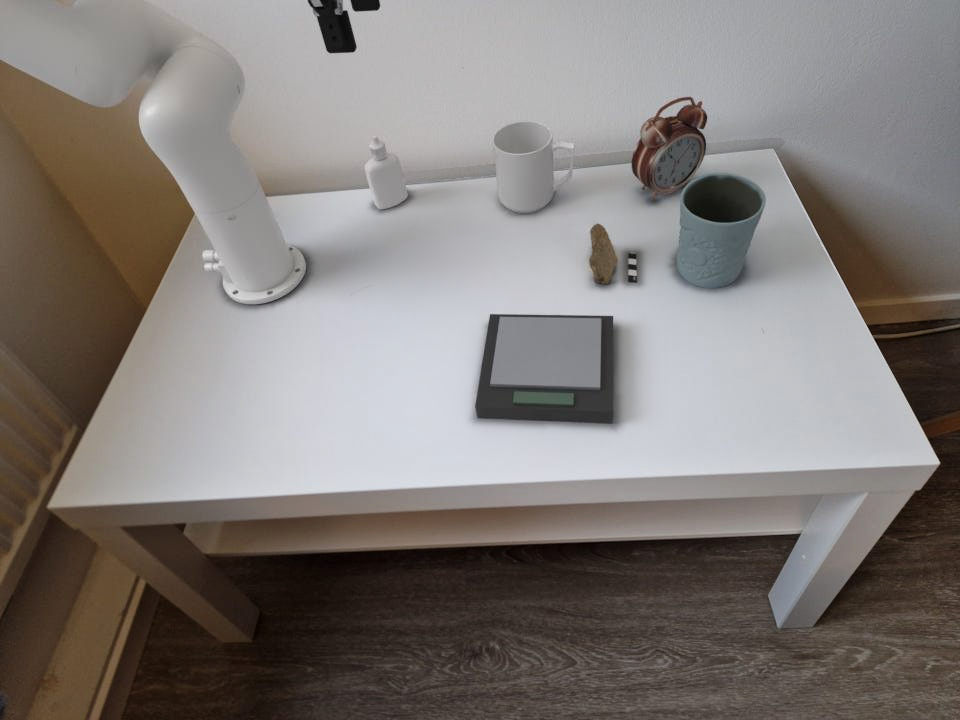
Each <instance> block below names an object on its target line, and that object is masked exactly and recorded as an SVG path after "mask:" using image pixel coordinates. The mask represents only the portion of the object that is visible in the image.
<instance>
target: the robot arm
mask: <svg viewBox="0 0 960 720" xmlns="http://www.w3.org/2000/svg"><path fill="white" fill-rule="evenodd" d="M349 1H350V4H351V8H352V10H353V11H354V12H356V13H357V12H358V13H359V12H376V11H379V10H380V8H381V2H380V0H349ZM307 3H308V5H309V6H310V7H311V9H312V13H313V15H314V17H316V19H317V22H318V23H317V24H318V26H319V30H320V33H321V36H322V40H323V43H324V46H325V51H326V52H327V53H328V54H348V53H351V54H352V53H355V52H356V51H357V42H356V38H355V35H354V31H353V27H352V22H351V20H350V15H349V12H348V10H345V9H344V0H307ZM0 61H1V62H4V63H6V64H7V65H9V66H11V67H13V68H15V69H17V70H19V71H21V72H23V73H25V74H27V75H29V76H31V77H33V78H35V79H37V80H39V81H41V82H43V83H45V84H47V85H49V86H51V87H53V88H55V89H56V90H59V91H61V92H62V93H64V94H67V95H69V96H71V97H72V98H75V99H76V100H79V101H81V102H83V103H85V104H89V105H91V106H94V107H98V108H105V109H106V108H112V107H116V106H117V105H119V104H121V103H122V102H123V101H125V99H126V98H127V97H128V96H129V95H130V94H131V92H132V91H133V90H134V89H135V88H136V86H137V84H138V83H139V81H140V80H141V79H142V77H145V78H146V79H149V80H151V83H150V84H149V85H148V87H147V88H146V91H145V92H144V94H143V95H142V99H141V102H140V105H139V110H138V125H139V129H140V132H141V135H142V137H143V139H144V140H145V142H146V144H147V145H148V147H149V148H150V149H151V151H152V152H153V153H154V154H155V155H156V156H157V157H158V159H159V161H161V162H162V163H163V165H164V166H165V167H166V169H167V170H168V171H169V172H170V174H171V175H172V177H173V178H174V180H175V182H176V183H177V185H178V187H179V189H180V190H181V191H182V193H183V195H184V197H185V198H186V201H187V202H188V204H189V206H190V207H191V209H192V211H193V213H194V214H195V217H196V218H197V220H198V222H199V223H200V225H201V227H202V229H203V231H204V233H205V234H206V237H207V238H208V240H209V242H210V243H211V245H212V247H213V249H204V250H203V251H202V260H203V262H204V265H203V269H204V271H205V273H217V272H218V273H219V274H221V275H222V286H223V289H224V291H225V292H226V294H227V295H228V297H229V298H230V299H231V300H233V301H235V302H237V303H240V304H244V305H262V304H266V303H271V302H273V301H275V300H278V299H280V298H282V297H284V296H286V295H288V294H289V293H290V292H292V291H293V290H294V289H295V288H297V286H298V285H299V284H300V282H301V281H302V280H303V278H304V276H305V274H306V270H307V262H306V260H305V257H304V255H303V253H302V251H301V250H300V249H298V248H297V247H295V246H294V245H292V244H288V243H287V242H286V239H285V238H284V235H283V232H282V230H281V228H280V226H279V224H278V221H277V219H276V217H275V214H274V212H273V210H272V207H271V205H270V203H269V200H268V198H267V196H266V194H265V192H264V189H263V187H262V185H261V183H260V180H259V178H258V176H257V173H256V171H255V168H254V167H253V165H252V163H251V161H250V159H249V158H248V157H247V155H246V154H245V153H244V151H242V150H241V148H240V147H239V146H238V145H237V144H236V143H235V142H234V140H233V138H232V136H231V130H230V127H231V125H232V123H233V120H234V117H235V115H236V113H237V111H238V108H239V107H240V104H241V103H242V100H243V97H244V94H245V89H246V79H245V75H244V72H243V69H242V67H241V65H240V63H239V62H238V60H237V59H236V58H235V57H234V55H232V53H230V52H229V51H228V50H227V49H226V48H224V47H223V46H222V45H221V44H219V42H217V41H215V40H213V39H212V38H210V37H208V35H207V36H206V35H205V34H203V33H201V32H200V31H198V30H197V29H195V28H193V27H192V26H190V25H188V24H187V23H185V22H183V21H181V20H180V19H178V18H176V17H175V16H173V15H172V14H170V13H168V12H166V11H164V10H163V9H161V8H159V7H158V6H156V5H154V4H153V3H151V2H149V1H147V0H76V1H75V2H74V3H73V4H72V5H71V6H70V5H65V4H63V3H60V2H59V1H56V0H0Z"/></svg>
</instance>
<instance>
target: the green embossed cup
mask: <svg viewBox="0 0 960 720" xmlns="http://www.w3.org/2000/svg"><path fill="white" fill-rule="evenodd" d="M687 183H688V184H687V185H686V186H685V185H684V188H682V191H681V193H680V200H679V201H680V204H679V226H680V229H679V233H678V234H679V235H678V245H677V251H676V269H677V271H678V274H679V275H680V276H681V278H683V280H685V281H686V282H687V283H689V284H691V285H694V286H696V287H700V288H704V289H718V288H724V287H726V286H729V285H730V284H732V283H734V282H735V281H736V280H737V279H738V278H739V276H740V274H741V272H742V269H743V267H744V264H745V261H746V258H747V254H748V251H749V248H750V246H751V242H752V240H753V237H754V234H755V231H756V229H757V227H758V225H759V223H760V220H761V217H762V215H763V213H764V210H765V207H766V202H767V199H766V193H765V191H764V190H763V188H762V187H761V186H760V185H759V184H757V183H756V182H755V181H753V180H752V179H751V178H748V177H745V176H743V175H739V174H736V173H728V172H714V173H707V174H704V175H700V176H698V177H696V178H693V179H691V180H690V181H689V182H687Z"/></svg>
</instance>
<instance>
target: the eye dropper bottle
mask: <svg viewBox="0 0 960 720" xmlns="http://www.w3.org/2000/svg"><path fill="white" fill-rule="evenodd" d="M371 138H372V141H371V142H370V144H369V145H368V149H369V151H370V156H371V158H370V159H368V161H366V163H365V164H364V172H365V176H366V181H367V183H368V186H369V190H370V194H371V197H372V200H373V203H374V205H375V207H377V208H378V209H379V210H386V209H391V208H394V207H396V206H398V205H399V204H402V203H403V202H404V201H405V200H406V199H407V198H408V196H409V195H408V190H407V185H406V181H405V178H404V172H403V169H402V165H401V160H400V158H399V157H398V156H397V155H396V154H395V153H394V152H388V151H387V148H386V143H385V141H383V140H380V139H379V137H378V135H377V134H374V135H372V137H371Z"/></svg>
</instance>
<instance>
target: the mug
mask: <svg viewBox="0 0 960 720" xmlns="http://www.w3.org/2000/svg"><path fill="white" fill-rule="evenodd" d="M491 142H492V153H493V160H494V170H495V171H494V172H495V181H496V189H497V196H498V199H499V202H500V203H501V204H502V205H503V206H504V207H505V208H506V209H508V210H510V211H512V212H514V213H518V214H531V213H536V212H538V211H540V210H542V209H543V208H545V207H547V205H548V204H549V203H550V202H551V201H552V199H553V197H554V195H555V192H556V191H557V190H558V189H559V188H561V187H562V186H564V185H565V184H567V183H569V181H570V180H571V179H572V177H573V173H574V172H573V171H574V169H573V168H574V151H575V150H574V149H575V142H566V141H557V142H553V132H552V130H551V128H550V127H548V126H547V125H545V124H543V123H541V122H538V121H534V120H519V121H514V122H510V123H507V124H505V125H503V126H502V127H500V128H498V129H497V130H496V131H495V133H494V134H493V136H492V139H491ZM559 149H560V150H561V149H562V150H567V151H569V153H570V154H569V156H570V157H569V171H568V173H566V174H565V175H563V177H561V178H560V179H558V180H556V181H555V175H554V174H555V173H554V152H555V151H557V150H559Z"/></svg>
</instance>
